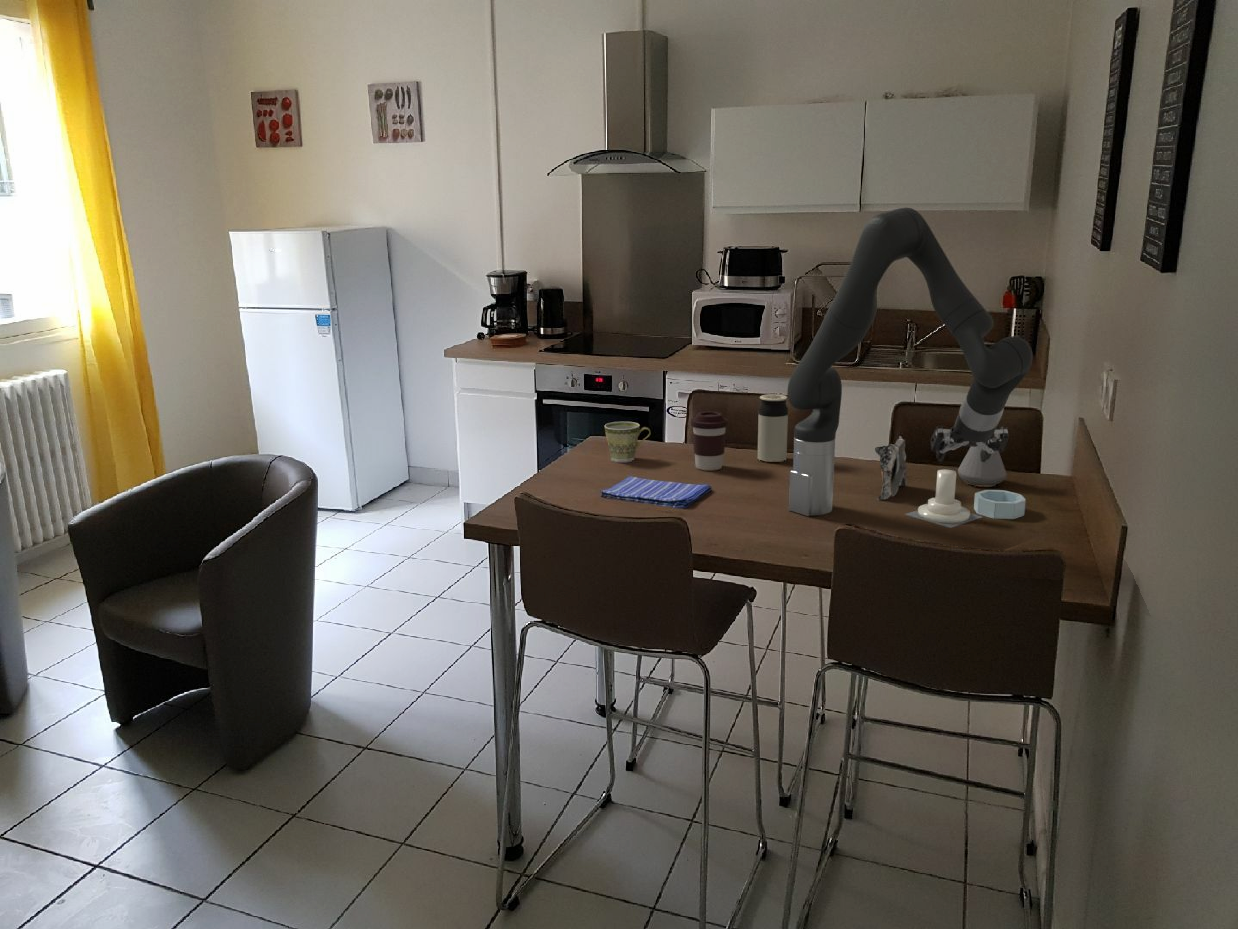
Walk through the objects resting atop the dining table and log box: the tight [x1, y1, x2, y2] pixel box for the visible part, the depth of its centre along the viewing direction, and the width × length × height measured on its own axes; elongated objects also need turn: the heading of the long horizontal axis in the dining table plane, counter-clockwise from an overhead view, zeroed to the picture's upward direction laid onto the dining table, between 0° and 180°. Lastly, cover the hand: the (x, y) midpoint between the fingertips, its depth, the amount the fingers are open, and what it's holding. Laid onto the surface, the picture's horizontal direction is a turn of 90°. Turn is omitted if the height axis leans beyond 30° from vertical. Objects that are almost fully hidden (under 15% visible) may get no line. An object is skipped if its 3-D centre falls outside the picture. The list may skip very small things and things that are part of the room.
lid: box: [917, 469, 971, 523], centre depth 205 cm, size 11×11×10 cm
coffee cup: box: [690, 411, 729, 472], centre depth 248 cm, size 10×10×15 cm
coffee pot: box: [957, 436, 1008, 485], centre depth 225 cm, size 21×12×15 cm, turn 156°
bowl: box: [973, 489, 1027, 520], centre depth 208 cm, size 10×10×4 cm
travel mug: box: [757, 393, 789, 462], centre depth 254 cm, size 8×8×18 cm
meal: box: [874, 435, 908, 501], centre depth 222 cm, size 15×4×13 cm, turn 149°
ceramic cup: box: [604, 421, 652, 463], centre depth 258 cm, size 13×10×10 cm
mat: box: [904, 509, 983, 529], centre depth 206 cm, size 12×12×1 cm
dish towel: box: [600, 476, 712, 509], centre depth 227 cm, size 17×24×3 cm
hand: (961, 458), depth 192 cm, fingers open, 8 cm apart
